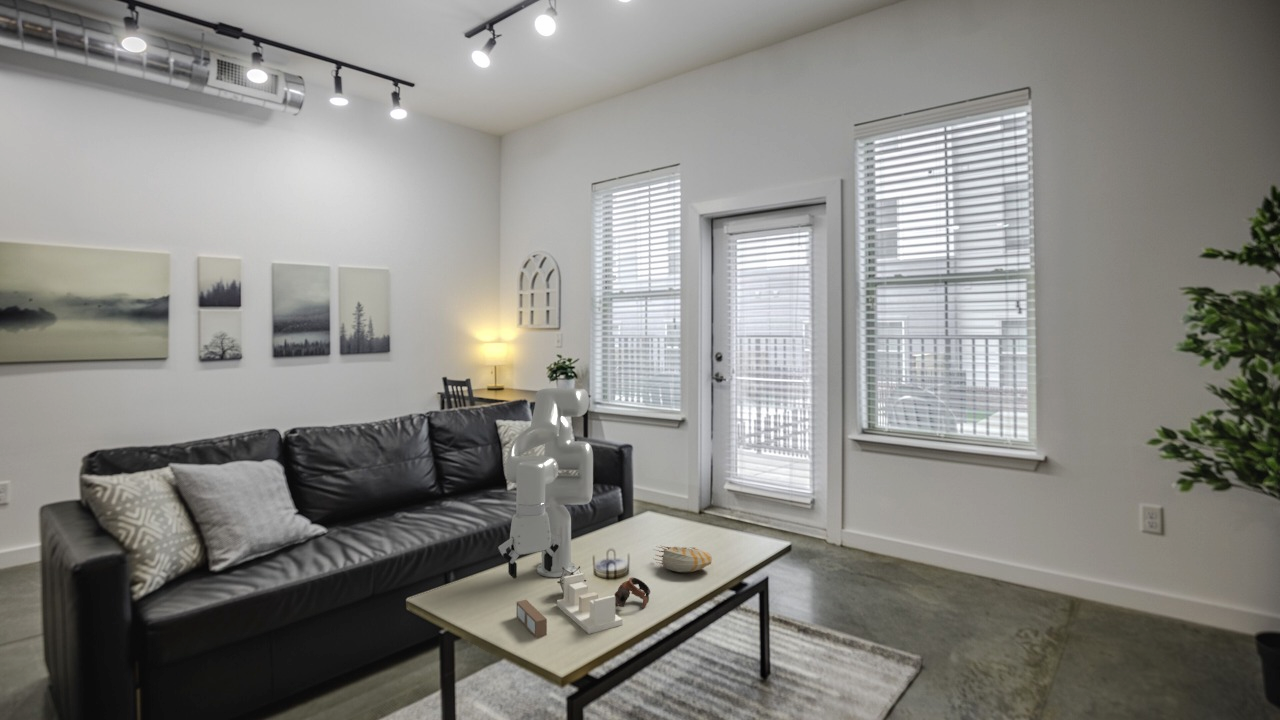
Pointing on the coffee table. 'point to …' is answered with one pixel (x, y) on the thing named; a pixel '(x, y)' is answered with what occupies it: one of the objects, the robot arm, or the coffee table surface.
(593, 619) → the stand
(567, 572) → the wire frame polyhedron
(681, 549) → the nautilus
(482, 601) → the coffee table surface
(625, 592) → the brown curved ringed piece
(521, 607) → the tall brown box
